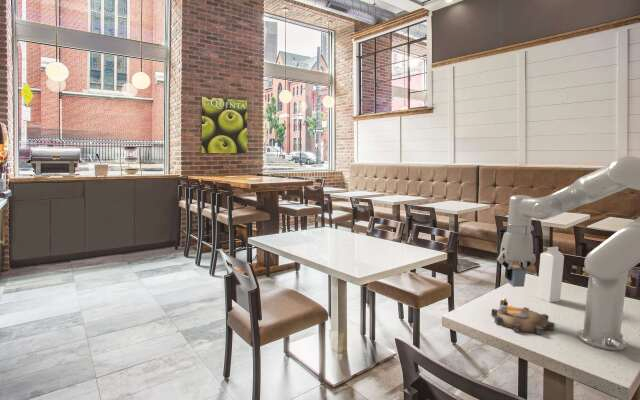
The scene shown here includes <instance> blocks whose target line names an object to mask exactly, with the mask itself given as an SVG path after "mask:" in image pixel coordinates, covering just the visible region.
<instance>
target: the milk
mask: <svg viewBox="0 0 640 400" xmlns="http://www.w3.org/2000/svg"><path fill="white" fill-rule="evenodd" d="M539 256H540V258H539V268H538V269H539V271H538V282H537V294H536V298H537V299H540V300H542V301H545V302H547V303H553V302H554V303H555V302H561V296H562V294H561V293H562V286H563V285H562V283H563V273H564V265H565V264H564V263H565V262H564V261H565V255H564V254H563V253H562V252H560V250H559V246H551V247H547V250H546V251H544V252H541V253H540V255H539Z"/></svg>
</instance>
